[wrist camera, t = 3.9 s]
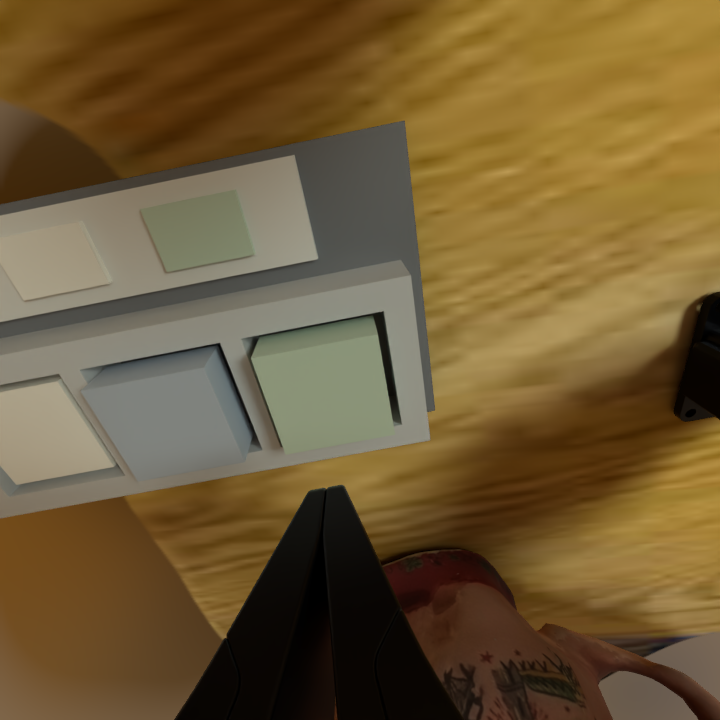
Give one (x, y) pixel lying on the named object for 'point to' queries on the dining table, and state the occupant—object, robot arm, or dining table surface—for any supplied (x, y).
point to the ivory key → (46, 432)
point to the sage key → (325, 384)
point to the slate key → (172, 413)
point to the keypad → (216, 286)
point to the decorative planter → (512, 647)
